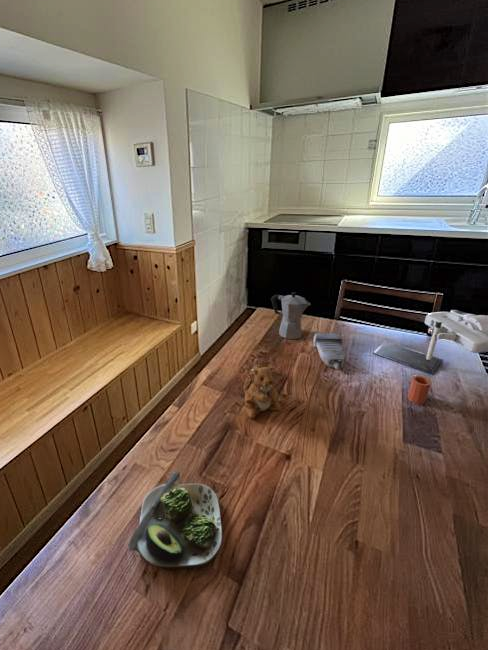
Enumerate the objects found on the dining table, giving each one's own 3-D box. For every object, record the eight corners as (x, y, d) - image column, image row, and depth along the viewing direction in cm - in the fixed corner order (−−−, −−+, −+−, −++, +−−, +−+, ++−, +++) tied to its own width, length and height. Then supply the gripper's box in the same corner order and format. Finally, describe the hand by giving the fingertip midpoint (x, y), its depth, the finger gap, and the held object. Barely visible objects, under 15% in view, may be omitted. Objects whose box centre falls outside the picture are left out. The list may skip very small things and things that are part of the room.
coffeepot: (310, 333, 134) (315, 291, 127) (302, 343, 127) (306, 300, 120) (274, 323, 143) (276, 284, 135) (264, 333, 136) (266, 292, 129)
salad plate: (142, 477, 78) (139, 462, 76) (218, 476, 77) (218, 461, 76) (125, 571, 61) (122, 556, 59) (224, 571, 60) (224, 556, 58)
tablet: (441, 361, 113) (442, 359, 112) (432, 376, 106) (432, 373, 106) (384, 342, 125) (384, 340, 125) (372, 354, 118) (372, 352, 118)
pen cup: (427, 399, 97) (433, 380, 94) (422, 407, 94) (428, 387, 91) (410, 392, 100) (415, 373, 97) (405, 400, 97) (410, 380, 94)
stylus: (431, 361, 111) (442, 320, 104) (429, 362, 110) (441, 322, 104) (425, 359, 112) (437, 319, 105) (424, 361, 111) (436, 321, 105)
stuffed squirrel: (250, 421, 92) (252, 382, 87) (234, 389, 105) (234, 354, 100) (284, 415, 94) (288, 376, 89) (264, 384, 107) (266, 349, 101)
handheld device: (323, 372, 110) (324, 360, 109) (310, 341, 129) (311, 330, 127) (353, 373, 109) (356, 361, 107) (336, 342, 127) (338, 331, 125)
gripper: (501, 355, 99) (457, 360, 98) (446, 323, 118) (408, 327, 117) (508, 337, 96) (463, 341, 96) (451, 307, 115) (413, 311, 114)
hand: (433, 333), depth 106 cm, fingers closed on stylus, 1 cm apart
